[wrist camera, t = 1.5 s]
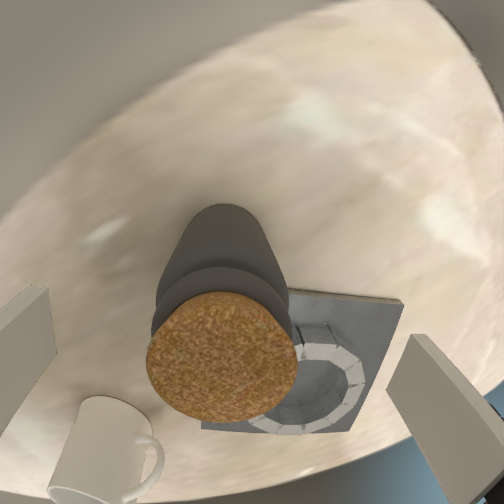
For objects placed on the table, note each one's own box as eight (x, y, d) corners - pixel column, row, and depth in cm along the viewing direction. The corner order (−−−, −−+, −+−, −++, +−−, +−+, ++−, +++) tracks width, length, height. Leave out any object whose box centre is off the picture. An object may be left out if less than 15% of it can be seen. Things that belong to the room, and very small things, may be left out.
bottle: (232, 186, 22) (241, 244, 8) (279, 249, 24) (347, 381, 10) (168, 235, 23) (91, 353, 9) (217, 293, 25) (210, 452, 10)
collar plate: (201, 421, 29) (199, 446, 25) (218, 280, 24) (217, 300, 21) (346, 425, 31) (355, 447, 27) (399, 300, 26) (418, 317, 23)
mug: (154, 384, 27) (129, 488, 15) (192, 437, 29) (186, 531, 18) (66, 399, 27) (26, 480, 16) (106, 448, 30) (84, 525, 18)
